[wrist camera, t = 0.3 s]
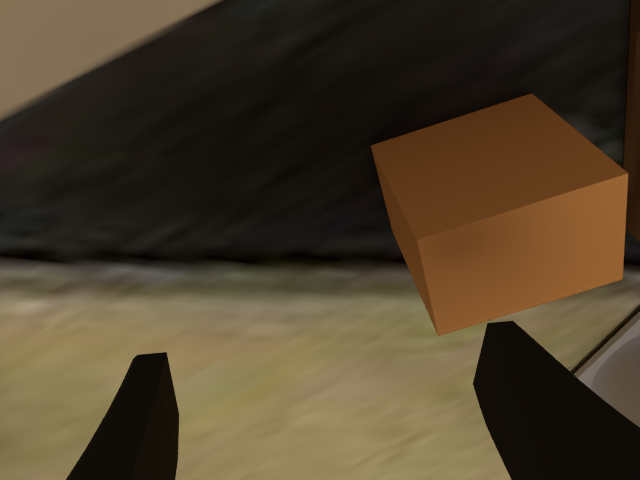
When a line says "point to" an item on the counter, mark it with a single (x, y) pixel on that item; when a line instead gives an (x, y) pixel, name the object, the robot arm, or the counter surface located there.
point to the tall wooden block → (502, 211)
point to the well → (633, 125)
